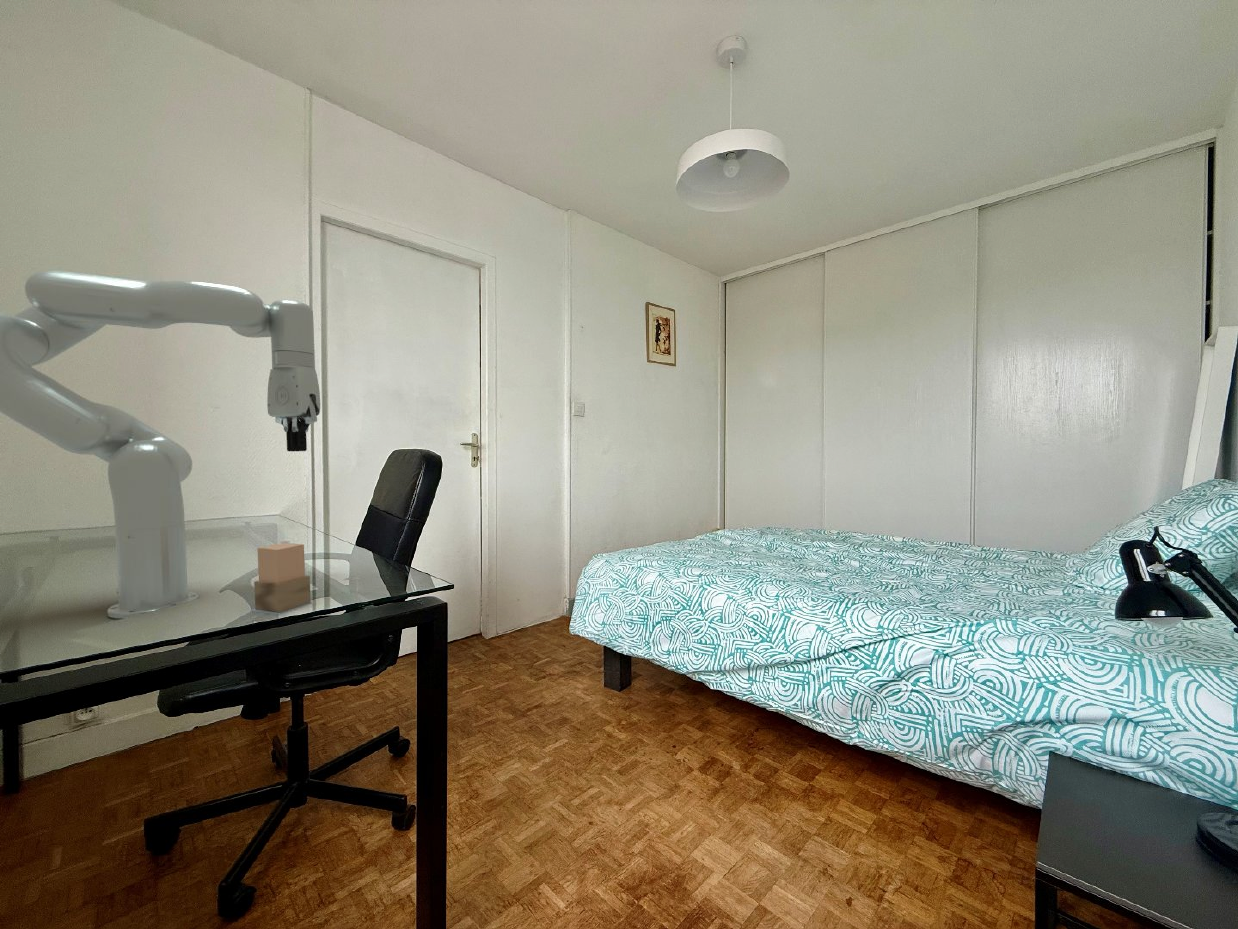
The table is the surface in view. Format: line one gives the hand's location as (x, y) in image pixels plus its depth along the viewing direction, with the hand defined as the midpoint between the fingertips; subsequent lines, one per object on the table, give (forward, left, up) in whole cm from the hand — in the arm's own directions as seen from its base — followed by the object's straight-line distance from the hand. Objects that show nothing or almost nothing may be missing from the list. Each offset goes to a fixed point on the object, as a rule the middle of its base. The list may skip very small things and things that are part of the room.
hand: (297, 451), depth 105 cm
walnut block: (+11, -12, -28) cm, 32 cm away
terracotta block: (+11, -12, -23) cm, 28 cm away
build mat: (+11, -12, -29) cm, 33 cm away
